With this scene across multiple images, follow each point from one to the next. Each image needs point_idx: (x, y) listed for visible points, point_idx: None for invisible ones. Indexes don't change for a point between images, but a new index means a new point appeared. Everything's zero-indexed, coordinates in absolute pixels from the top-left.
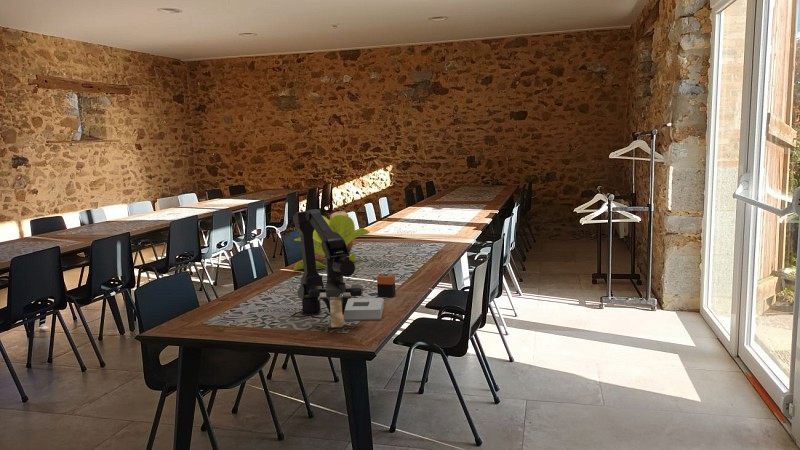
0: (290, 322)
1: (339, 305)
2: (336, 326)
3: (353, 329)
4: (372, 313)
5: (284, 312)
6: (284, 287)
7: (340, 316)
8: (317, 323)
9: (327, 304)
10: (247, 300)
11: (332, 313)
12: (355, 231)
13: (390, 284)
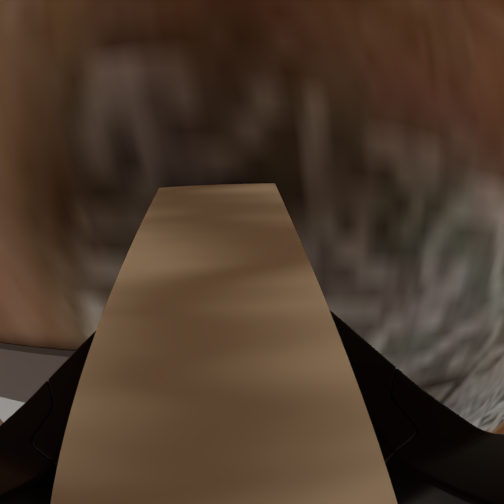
0: (497, 309)
1: (119, 388)
2: (220, 187)
3: (58, 159)
4: (15, 378)
5: (468, 399)
6: None
7: (152, 244)
8: (385, 306)
9: (404, 402)
10: (494, 428)
11: (278, 265)
12: None
13: None
